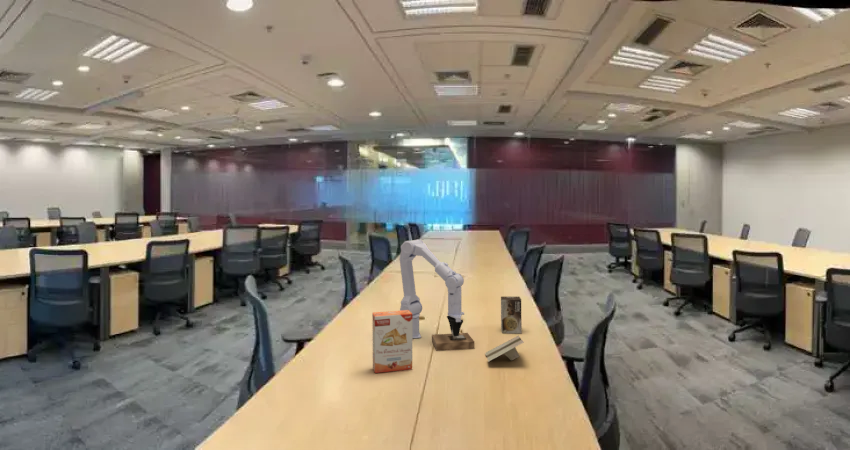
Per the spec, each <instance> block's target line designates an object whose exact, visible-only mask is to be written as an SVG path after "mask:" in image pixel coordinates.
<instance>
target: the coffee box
mask: <svg viewBox="0 0 850 450" xmlns="http://www.w3.org/2000/svg"><path fill="white" fill-rule="evenodd" d="M522 325H523V324H522V298H521V297H520V296H500V331H501V333H502V334H522V331H523V330H522V329H523V328H522V327H523V326H522Z"/></svg>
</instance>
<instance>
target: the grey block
mask: <svg viewBox="0 0 850 450" xmlns="http://www.w3.org/2000/svg"><path fill="white" fill-rule="evenodd" d="M450 334H451V339H452V340H465V337H464V336H463V335H459V336H454V335H453V330H452V333H451V332H450Z"/></svg>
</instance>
